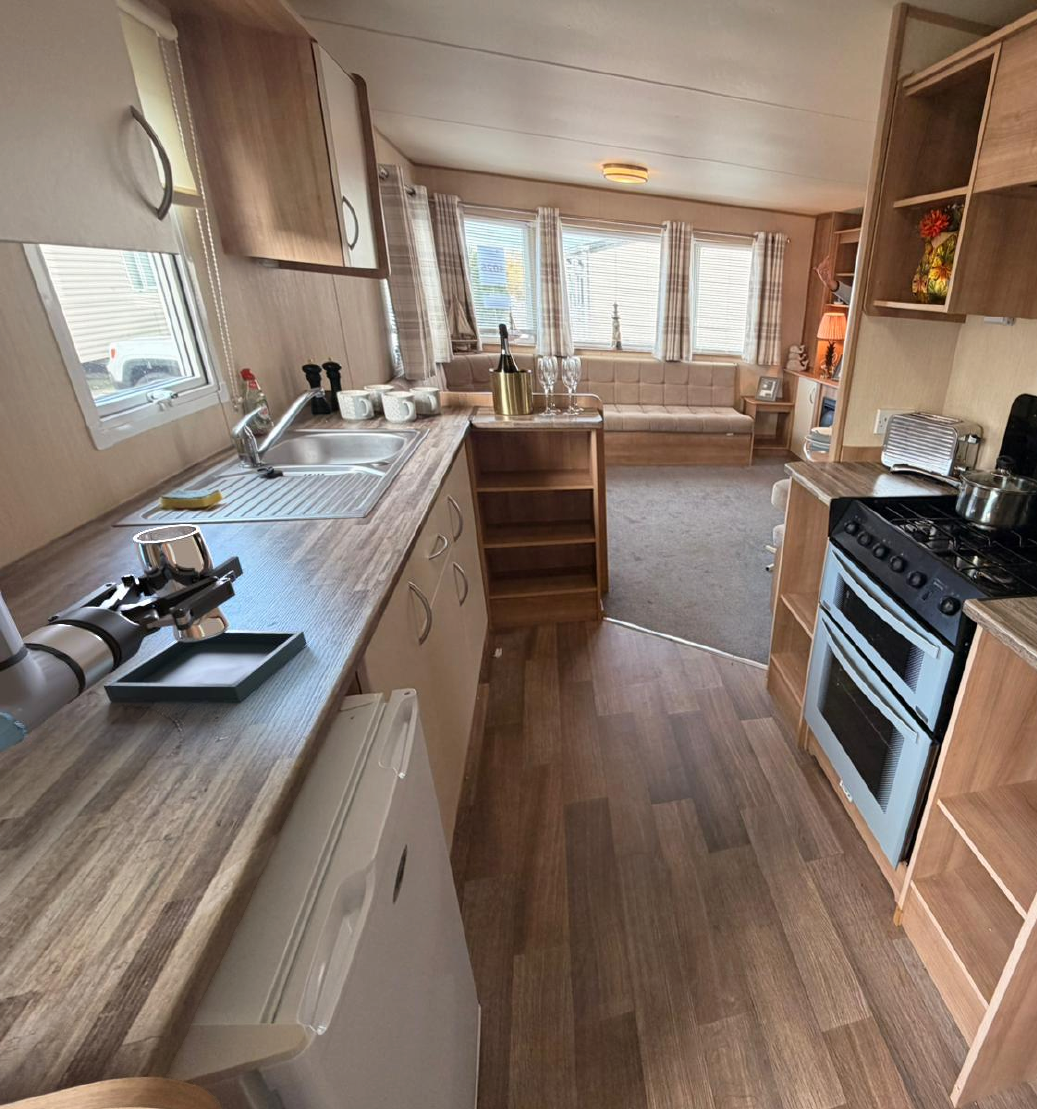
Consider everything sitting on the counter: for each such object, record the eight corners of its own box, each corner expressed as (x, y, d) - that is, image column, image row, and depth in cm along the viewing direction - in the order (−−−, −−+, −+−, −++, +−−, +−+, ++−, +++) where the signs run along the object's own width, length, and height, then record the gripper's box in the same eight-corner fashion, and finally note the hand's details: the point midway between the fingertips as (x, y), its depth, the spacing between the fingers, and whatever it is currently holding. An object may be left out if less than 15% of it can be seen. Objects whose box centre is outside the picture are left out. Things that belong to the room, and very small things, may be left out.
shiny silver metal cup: (158, 637, 81) (117, 537, 75) (215, 615, 87) (182, 521, 81) (189, 649, 79) (150, 546, 73) (246, 625, 85) (214, 529, 79)
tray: (110, 701, 79) (102, 685, 78) (197, 643, 92) (191, 629, 91) (240, 702, 80) (234, 687, 79) (307, 645, 93) (303, 631, 92)
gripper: (-20, 687, 64) (136, 592, 84) (191, 674, 67) (291, 586, 88) (-54, 627, 61) (117, 544, 81) (169, 616, 64) (278, 539, 85)
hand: (207, 566), depth 85 cm, fingers closed on shiny silver metal cup, 7 cm apart
